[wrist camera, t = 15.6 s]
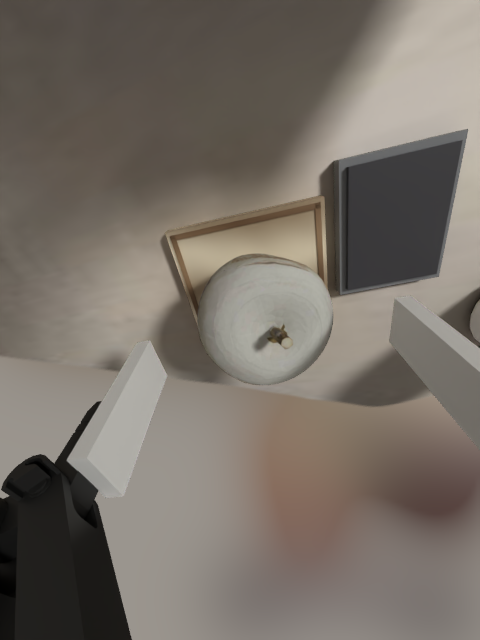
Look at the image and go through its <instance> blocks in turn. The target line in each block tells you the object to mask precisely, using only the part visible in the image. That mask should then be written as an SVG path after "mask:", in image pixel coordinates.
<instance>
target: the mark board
mask: <svg viewBox="0 0 480 640" xmlns="http://www.w3.org/2000/svg"><path fill="white" fill-rule="evenodd" d="M165 235H166V238H167V240H168V243H169V246H170V249H171V252H172V255H173V258H174V260H175V263H176V266H177V269H178V272H179V275H180V278H181V280H182V283H183V286H184V289H185V292H186V295H187V297H188V300H189V303H190V306H191V309H192V312H193V315H194V317H195V320H196V323H197V319H198V317H197V314H198V307H199V301H200V298H201V294H202V292H203V290H204V287H205V285H206V284H207V282H208V281H209V279H210V278H211V276H212V275H213V274H214V273H215V272H216V271H217V270H218V269H219V268H220V267H222V266H223V265H224V264H226V263H227V262H229V261H230V260H232V259H234V258H236V257H239V256H241V255H247V254H255V253H259V254H268V255H273V256H277V257H283V258H286V259H289V260H293V261H296V262H299V263H301V264H304V265H306V266H308V267H309V268H311V269H312V270H313V271H315V272H316V273H317V275H318V276H319V277H320V278H321V279H322V281H323V282H324V284H325V286H326V288H327V290H328V281H327V254H326V227H325V199H324V196H321V195H320V196H316V197H312V198H307V199H303V200H299V201H294V202H290V203H285V204H281V205H277V206H272V207H268V208H264V209H259V210H255V211H250V212H246V213H242V214H237V215H233V216H229V217H224V218H220V219H216V220H211V221H207V222H202V223H198V224H194V225H189V226H185V227H181V228H176V229H172V230H168V231H167V232H165ZM197 326H198V323H197ZM207 355H208V354H207Z"/></svg>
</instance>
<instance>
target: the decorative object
mask: <svg viewBox="0 0 480 640" xmlns="http://www.w3.org/2000/svg"><path fill="white" fill-rule="evenodd" d="M197 317H198V319H197V323H198V330H199V335H200V339H201V342H202V344H203V346H204V349H205V350H206V352H207V354H208V355H209V356H210V358H211V359H212V360H213V361H214V362H215V364H217V365H218V366H219V367H220V368H221V369H222V370H223V371H225V372H226V373H227V374H229V375H230V376H232V377H233V378H235V379H237V380H239V381H241V382H244V383H248V384H253V385H271V384H277V383H281V382H284V381H287V380H290V379H292V378H294V377H296V376H298V375H299V374H301V373H302V372H304V371H305V370H307V369H308V368H309V367H310V366H311V365H312V364H313V363H314V362H315V361H316V360H317V358H318V357H319V356H320V354H321V353H322V351H323V350H324V348H325V346H326V344H327V342H328V340H329V337H330V334H331V330H332V325H333V307H332V301H331V297H330V294H329V292H328V290H327V288H326V286H325V284H324V282H323V281H322V279H321V278H320V277H319V276H318V275H317V273H316V272H315V271H313V270H312V269H311V268H309V267H308V266H306V265H304V264H301V263H299V262H296V261H293V260H289V259H286V258H283V257H277V256H273V255H268V254H259V253H255V254H247V255H241V256H239V257H236V258H234V259H232V260H230V261H229V262H227V263H226V264H224V265H223V266H222V267H220V268H219V269H218V270H217V271H216V272H215V273H214V274H213V275H212V276H211V278H210V279H209V281H208V282H207V284H206V285H205V287H204V290H203V292H202V294H201V298H200V301H199V307H198V314H197Z"/></svg>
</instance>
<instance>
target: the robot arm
mask: <svg viewBox="0 0 480 640" xmlns="http://www.w3.org/2000/svg"><path fill="white" fill-rule="evenodd" d="M389 342H390V343H391V344H392V345H393V347H394V348H395V349H396V350H397V351H398V353H399V354H400V355H401V356H402V357H403V359H404V360H405V361H406V362H407V363H408V365H409V366H410V367H411V368H412V369H413V371H414V372H415V373H416V374H417V375H418V377H419V378H420V379H421V380H422V382H423V383H424V384H425V385H426V386H427V388H428V389H429V390H430V391H431V392H432V394H433V395H434V396H435V397H436V398H437V399H438V401H439V402H440V403H441V404H442V406H443V407H444V408H445V409H446V410H447V412H448V413H449V414H450V415H451V416H452V418H453V419H454V420H455V421H456V422H457V423H458V425H459V426H460V427H461V428H462V430H463V431H464V432H465V433H466V434H467V436H468V437H469V438H470V439H471V440H472V442H473V443H474V444H475V445H476V446H477V448H478V449H479V450H480V346H476V345H475V344H473V343H472V342H471V341H470V340H468V339H467V338H466V337H464V336H463V335H462V334H460V333H459V332H458V331H457V330H455V329H454V328H453V327H451V326H450V325H449V324H448V323H446V322H445V321H444V320H442V319H441V318H440V317H438V316H437V315H436V314H435V313H433V312H432V311H431V310H429V309H428V308H427V307H425V306H424V305H423V304H422V303H420V302H419V301H418V300H416V299H415V298H414V297H412V296H411V295H410V296H404V297H398V298H395V300H394V307H393V315H392V323H391V331H390V339H389ZM166 378H167V374H166V372H165V370H164V368H163V366H162V364H161V362H160V360H159V358H158V356H157V354H156V352H155V350H154V348H153V346H152V344H151V342H150V340H149V341H143V342H137V344H136V345H135V347H134V349H133V350H132V352H131V354H130V355H129V357H128V359H127V360H126V362H125V364H124V365H123V367H122V369H121V370H120V372H119V374H118V375H117V377H116V379H115V380H114V382H113V384H112V385H111V387H110V389H109V390H108V392H107V394H106V395H105V397H104V399H103V400H102V401H100V402H96V403H95V404H94V405H93V406H92V407H91V408H90V409H89V410H88V411H87V413H86V415H85V416H84V418H83V419H82V421H81V424H79V426H78V427H77V429H76V430H75V433H73V435H72V437H71V438H70V440H69V441H68V443H67V445H66V446H65V448H64V449H63V451H62V453H61V454H60V456H59V457H58V459H57V460H56V462H55V464H54V463H53V462H51V461H50V460H49V459H48V458H47V457H46V456H45V455H41V454H40V455H36V456H32V457H30V458H28V459H26V460H25V461H23V462H22V463H21V464H19V465H18V466H17V467H16V468H15V469H14V470H13V471H12V472H11V473H10V474H9V475H8V477H7V478H6V480H5V481H4V483H3V486H2V489H1V490H2V491H3V492H5V493H7V494H8V495H9V497H6V498H4V499H2V498H0V640H132V639H131V635H130V631H129V627H128V623H127V619H126V615H125V611H124V607H123V603H122V599H121V595H120V591H119V587H118V583H117V580H116V575H115V572H114V567H113V564H112V560H111V556H110V551H109V548H108V544H107V540H106V536H105V532H104V528H103V524H102V520H101V516H100V512H99V508H98V505H97V503H96V501H95V500H94V499H95V497H96V495H97V492H98V491H99V492H100V493H101V494H102V495H103V496H104V497H105V498H111V497H121V496H124V493H125V491H126V488H127V485H128V483H129V479H130V477H131V474H132V471H133V469H134V466H135V463H136V460H137V458H138V455H139V452H140V449H141V446H142V444H143V441H144V438H145V435H146V433H147V430H148V427H149V425H150V422H151V419H152V416H153V413H154V411H155V408H156V405H157V402H158V400H159V397H160V394H161V391H162V388H163V386H164V383H165V380H166Z"/></svg>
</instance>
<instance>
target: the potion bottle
mask: <svg viewBox="0 0 480 640" xmlns="http://www.w3.org/2000/svg"><path fill="white" fill-rule="evenodd" d="M470 330H471V332H472V335H473V337H474V338H475V339H476V340H477V341H478V342H480V299H479V301H478V302H477V303H476V305H475V307H474V309H473V312H472V314H471V318H470Z"/></svg>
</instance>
